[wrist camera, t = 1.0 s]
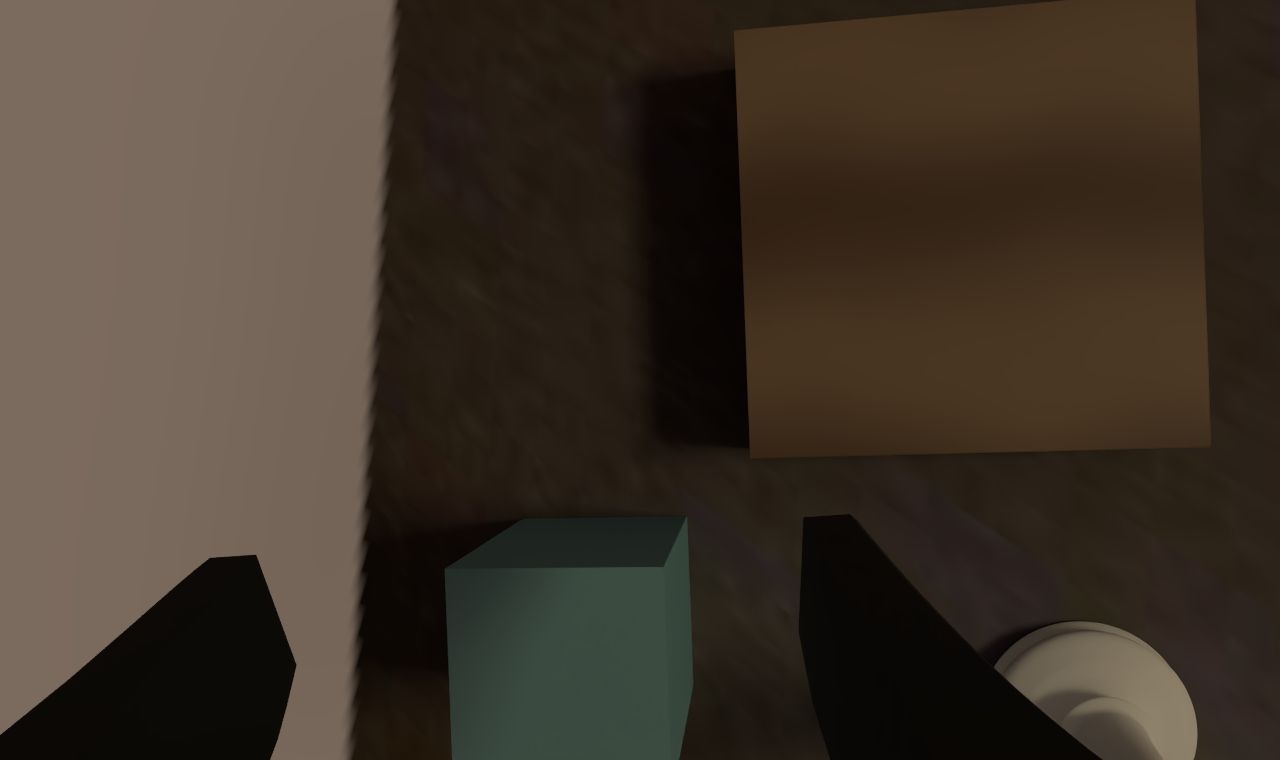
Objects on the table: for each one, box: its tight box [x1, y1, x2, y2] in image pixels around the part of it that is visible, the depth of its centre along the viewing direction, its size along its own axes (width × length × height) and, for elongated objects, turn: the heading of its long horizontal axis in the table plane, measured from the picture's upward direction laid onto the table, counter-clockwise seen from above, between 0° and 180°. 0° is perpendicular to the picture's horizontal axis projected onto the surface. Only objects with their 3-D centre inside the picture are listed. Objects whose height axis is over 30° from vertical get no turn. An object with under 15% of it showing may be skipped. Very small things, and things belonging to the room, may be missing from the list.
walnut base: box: [734, 0, 1211, 459], centre depth 21 cm, size 10×10×2 cm
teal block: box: [445, 516, 693, 760], centre depth 20 cm, size 4×4×6 cm
